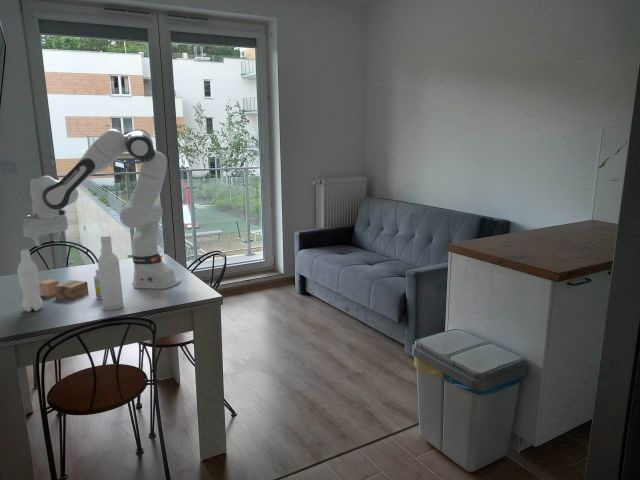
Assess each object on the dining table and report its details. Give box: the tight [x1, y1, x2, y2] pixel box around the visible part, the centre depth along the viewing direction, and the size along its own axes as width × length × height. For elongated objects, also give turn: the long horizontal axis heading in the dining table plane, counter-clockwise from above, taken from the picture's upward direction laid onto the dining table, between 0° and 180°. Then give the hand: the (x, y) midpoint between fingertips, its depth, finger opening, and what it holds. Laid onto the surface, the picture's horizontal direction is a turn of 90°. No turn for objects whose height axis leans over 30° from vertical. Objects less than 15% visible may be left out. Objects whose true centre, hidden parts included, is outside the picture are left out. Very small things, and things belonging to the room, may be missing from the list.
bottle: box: [97, 234, 124, 311], centre depth 194 cm, size 8×8×30 cm
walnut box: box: [55, 279, 89, 301], centre depth 211 cm, size 9×9×6 cm
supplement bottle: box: [93, 268, 102, 300], centre depth 208 cm, size 7×7×13 cm
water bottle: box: [16, 249, 44, 313], centre depth 193 cm, size 7×7×25 cm
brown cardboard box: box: [39, 278, 60, 298], centre depth 214 cm, size 6×6×6 cm
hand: (47, 243), depth 212 cm, fingers open, 8 cm apart
